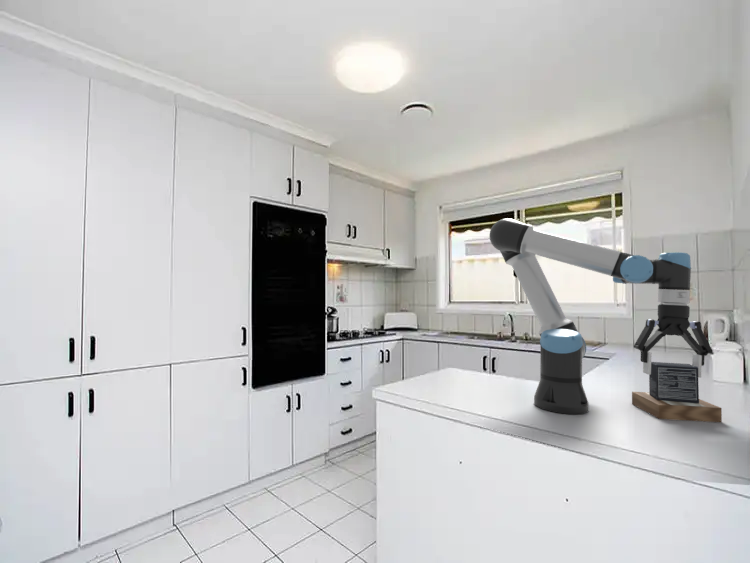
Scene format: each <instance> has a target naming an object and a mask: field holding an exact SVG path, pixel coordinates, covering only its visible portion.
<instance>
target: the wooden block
mask: <svg viewBox="0 0 750 563" xmlns="http://www.w3.org/2000/svg"><path fill="white" fill-rule="evenodd" d="M631 405H633V406H635V407H636V408H639V409H640V410H642V411H644V412H645V411H646V413H648V414H649V413H650V414H649V415H651V416H652V417H654V416H655V417H654V418H656V419H658V420H669V421H670V420H671V421H673V420H674V421H688V422H689V421H691V422H692V421H693V422H694V421H695V422H709V423H710V422H711V423H722V417H723V416H722V415H723V414H722V407H720V406H718V405H715V404H713V403H710V402H708V401H705V400H703V399H700V398H699V403H689V402H677V401H665V400H656V399H655V398H653V397H652V396H651V395H649V392H646V391H631Z"/></svg>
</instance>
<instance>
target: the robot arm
mask: <svg viewBox="0 0 750 563" xmlns="http://www.w3.org/2000/svg"><path fill="white" fill-rule="evenodd" d="M489 241H490V243H491V245H492V246H493V247H494V248H495V249H496V250H498V251H499V252H500V255H501V256H502V258H503V260H504V262H505V264H506V265H509V266H511V267H512V270H513V271H514V273H515V275H516V277H517V279H518V281H519V285H520V286H521V288H522V290H523V292H524V294H525V297H526V298H527V300H528V302H529V305H530V307H531V309H532V311H533V313H534V315H535V318H536V319H537V321H538V324H539V325H540V329H539V332H538V334H539V336H540V338H539V343H540V360H539V362H540V365H539V367H540V368H539V371H540V372H539V373H540V376H539V377H540V378H539V382H538V385H537V388H536V390H535V393H534V395H533V396H534V398H533V402H534V403H533V405H535V406H536V407H537V408H540V409H543V410H545V411H550V412H553V413H557V414H558V413H559V414H566V415H567V414H568V415H582V414H586V413H588V412H589V410H590V408H589V400H588V397H587V395H586V392H585V389H584V386H583V385H584V384H583V359H584V358H585V355H586V352H587V345H586V340H585V339H584V337H583V336H582V334H581V333H580V332H579V330H578V329H577V327H576V324H575V323H574V321H573V320H572V319H569V318H566V315H565V313H564V311H563V310H562V307H561V305H560V303H559V301H558V299H557V298H556V297H557V296H556V295H555V293H554V291H553V289H552V287H551V284H549V281H548V279H547V277H546V275H545V273H544V271H543V268H542V267H541V265H540V262H539V261H538V259H537V257H536V255H537V256H540V257H543V258H546V259H549V260H554V261H557V262H561V263H564V264H567V265H571V266H574V267H578V268H582V269H586V270H588V271H592V272H595V273H600V274H602V275H606V276H609V277H612V281H613V283H615V284H626V285H627V284H632V285H633V284H635V285H637V284H647V285H649V284H651V285H658V288H657V289H658V290H657V291H658V292H657V302H658V303H660V304H658V305H657V320H655V319H651V318H647V319H646V320H645V325H644V328H643V329H642V331H641V333H640V335H639V336H638V338H637V340H636V341H635V343H634V345H633V348H634V349H636V350H638V351H640V362H642V363H643V365H642V372H643V373H644V374H646V375H649V374H650V375H651V362H652V352H649V351H650V350H652V348H654V346H656V344H657V343H659V342H660V340H661V339H662V338H664V337H665V336H678V337H682V339H683V340H684V341H685V342H686V343H687V345H688V346H689V347H690V348H691V349H692V350H693V351H694V352H695V353H692V356H691V357H692V360H691V362H692V363H691V365H693V366H696V367H698V378H702V366H703V367H704V365H705V356H708V354H713V352H714V351H713V349H712V347H711V345H710V343H709V340H708V339H707V336H706V335H705V334H704V331H703V330H702V329H703V328H702V323H701V321H695V320H691V321H689V318H690V308H691V307H690V306H689V305H688V304H690V301H691V300H690V296H691V275H692V272H691V271H692V267H691V266H692V265H691V255H690V254H689V253H687V252H679V251H678V252H677V251H676V252H673V251H672V252H662V253H660V254H659V255H658V257H657V258H658V259H657V258H656V259H649V258H647V257H646V256H644V255H640V254H635V255H634V254H630V253H627V252H622V251H619V250H615V249H611V248H607V247H603V246H600V245H596V244H592V243H589V242H585V241H584V242H583V241H580V240H577V239H573V238H568V237H564V236H560V235H557V234H554V233H550V232H549V233H548V232H545V231H541V230H537V229H535V228H534V227H533V225H531V224H526V223H523V222H521V221H518V220H516V219H513V218H508V217H507V218H502V219H500V220H498V221H496V222H495V223H494V224H493V225H492V227H491V228H490V231H489ZM655 327H658V328H657V329H656V330H655ZM689 328H690V329H691V330H692V333H691V332H689V330H688V329H689ZM654 330H655V331H654ZM653 331H654V333H653V334H652V332H653ZM651 334H652V335H651ZM692 334H693V335H694V337H695V338H694V337H693V336H692ZM695 339H696V340H695Z"/></svg>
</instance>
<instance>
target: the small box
mask: <svg viewBox="0 0 750 563" xmlns="http://www.w3.org/2000/svg"><path fill="white" fill-rule="evenodd" d="M648 379H649V380H648V382H649V383H648V384H649V385H648V387H649V395H651V396H652V397H653V398H655V399H656V400H665V401H677V402H689V403H699V399H700V396H699V394H700V393H699V392H700V391H699V390H700V389H699V386H700V385H699V377H698V367H696V366H693V365H692V364H690V363H677V362H676V363H675V362H661V361H659V362H658V361H651V375H650V374H648Z"/></svg>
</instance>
